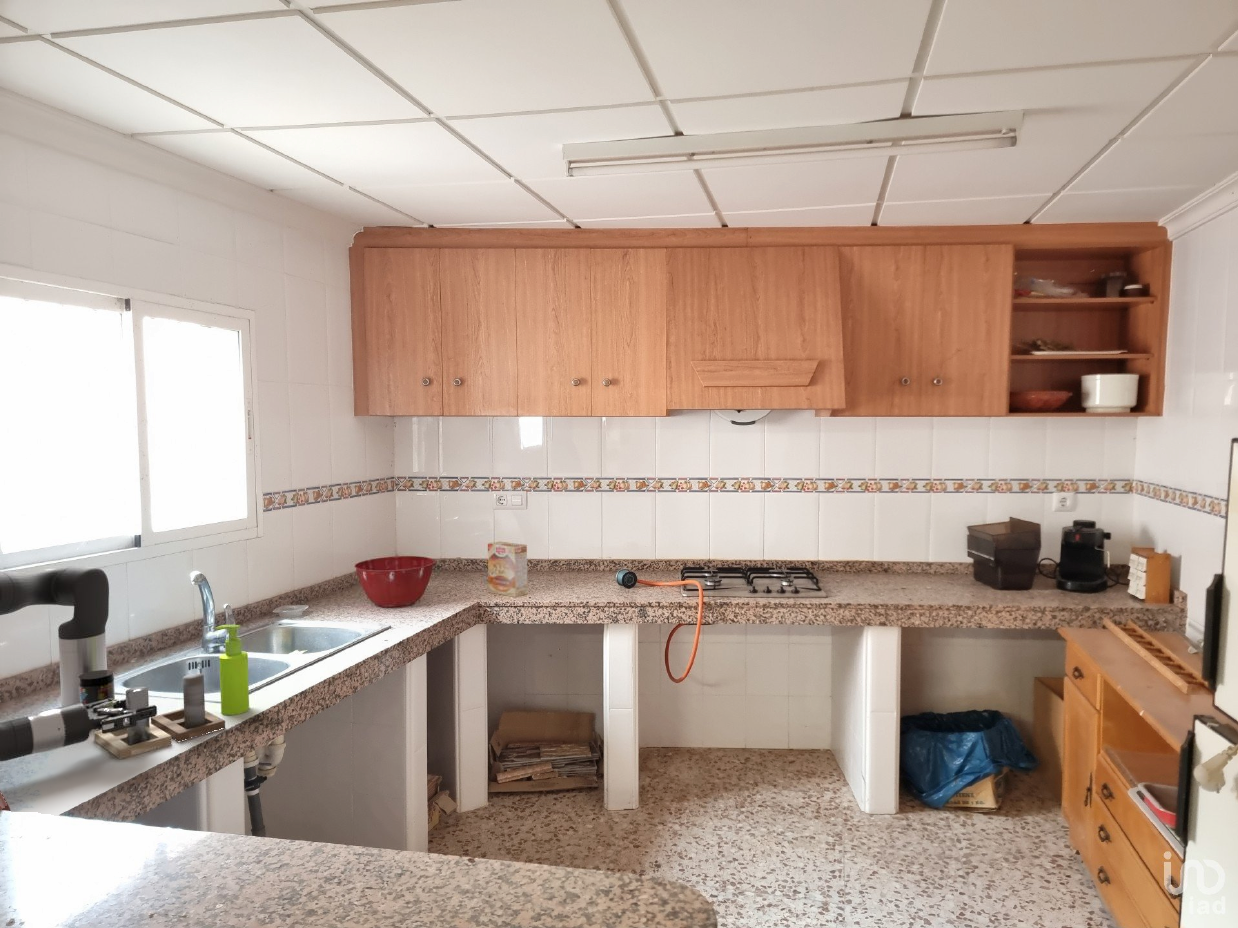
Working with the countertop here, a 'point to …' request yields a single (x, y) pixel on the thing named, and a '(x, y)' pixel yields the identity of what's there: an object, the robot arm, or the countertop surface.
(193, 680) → the pattern plate
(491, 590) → the coffeecake box
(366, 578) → the mixing bowl
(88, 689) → the supplement container
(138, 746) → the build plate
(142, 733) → the pin
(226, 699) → the soap dispenser
